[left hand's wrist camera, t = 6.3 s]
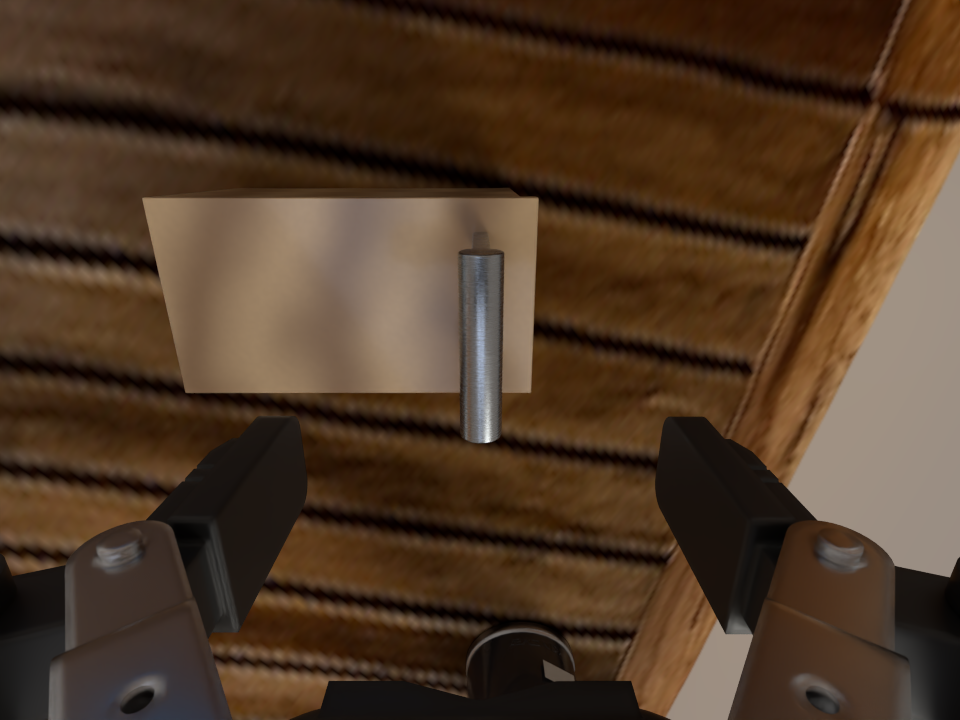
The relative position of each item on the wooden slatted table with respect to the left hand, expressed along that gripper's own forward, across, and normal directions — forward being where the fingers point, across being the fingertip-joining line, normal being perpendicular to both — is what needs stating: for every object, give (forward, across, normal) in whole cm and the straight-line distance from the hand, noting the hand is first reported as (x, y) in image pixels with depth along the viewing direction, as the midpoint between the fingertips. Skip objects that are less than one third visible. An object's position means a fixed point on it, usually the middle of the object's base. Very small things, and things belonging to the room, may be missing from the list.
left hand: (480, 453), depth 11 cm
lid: (+14, +6, 0) cm, 15 cm away
